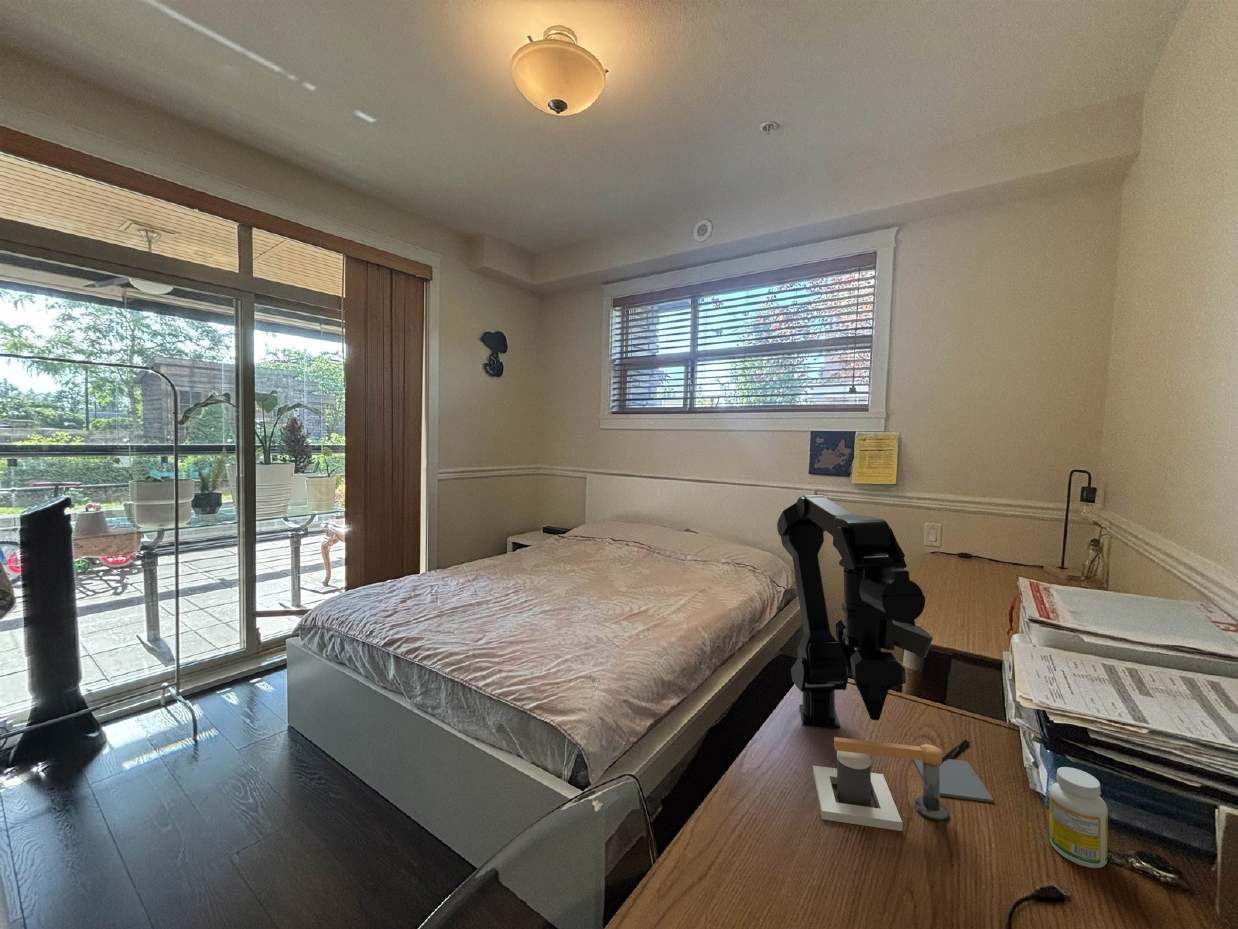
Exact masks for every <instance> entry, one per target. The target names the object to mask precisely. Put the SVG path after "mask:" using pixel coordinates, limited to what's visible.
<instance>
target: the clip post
mask: <svg viewBox="0 0 1238 929" xmlns="http://www.w3.org/2000/svg"><path fill="white" fill-rule="evenodd" d="M940 800H941V796H940V773H939V765H931V764H928V763H926V762H924V761H923V779H922V795H920V796H918V797H916V798H915V799H914V809H915V810H916V811H917V812H918V813H919V814H920V815H921V816H922V817H925V818H927V819H929V820H932V821H937V822H943V821H946V820H948V819H949V808H948V807H947V805H945V804H944V803H943V802H942V801H940Z"/></svg>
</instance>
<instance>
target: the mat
mask: <svg viewBox="0 0 1238 929" xmlns="http://www.w3.org/2000/svg"><path fill="white" fill-rule="evenodd" d="M945 760H946V759H945ZM945 760H944V762H943V763H942V764H941V765H940V766H939V773H940V797H949V798H954V799H955V798H956V799H963V800H970V801H979V802H985V803H986V802H987V803H995V802H994V801H995V800H994V798H993V796H992V795H991V794H990V792H989V791H988V789H987V788H986V787H985V785H984V784H983V782H982V781H981V779H980V778H979V776H978V775H977V773H976V772H975V770H974V769H973V767H972V766H971V765H970V763H969V762H968V761H967V760H963V759H962V760H959V759H954V758H953V759H948V760H947V761H945ZM912 761H913V764H914V766H915V767H916V768H917V771H918V772H919V775H920V777H921V779H922V780H923V761H922V760H914V759H912Z"/></svg>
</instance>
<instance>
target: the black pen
mask: <svg viewBox="0 0 1238 929" xmlns="http://www.w3.org/2000/svg"><path fill="white" fill-rule="evenodd" d="M968 746H970V741H969V740H967V739H964V740H962V741H961V742H960V744H958V745H957V746H955V747H953V748H952V749H950V751H948V752H947V753H946V754H945V755H944V756H942V763H943V762H944V760H945V759H946V760H945V761H947V760H948V759H953V760H954V759H955V758H956V757H957V756H958V755H960V754H961V753H962V752H963V751H964V750H965V748H967V747H968ZM939 766H940V765H939Z"/></svg>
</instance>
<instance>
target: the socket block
mask: <svg viewBox="0 0 1238 929" xmlns="http://www.w3.org/2000/svg"><path fill="white" fill-rule="evenodd" d="M812 774H813V779H814V784H815V789H816V794H817V800H818V804H819V810H820V815H821V819H822V820H826V821H833V822H839V823H845V824H853V825H859V826H866V827H872V828H879V829H885V830H891V831H892V830H893V831H897V832H898V831H900V832H903V820H902V818H901V816H900V814H899V811H898V809H897V806H896V804H895V801H894V799H893V796H892V794H891V790H890V789H889V786H888V784H887V781H886V778H885V776H884V774H883V773H876V772H871V793H872V796H873V798H874V802H875V804H876V806H877V807H865V806H858V805H851V804H843V803H841V802H836V801H837V800H836V798H835V793H834V790H833V785H837V767H836V768H834V767H828V766H820V765H813V766H812Z"/></svg>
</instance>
